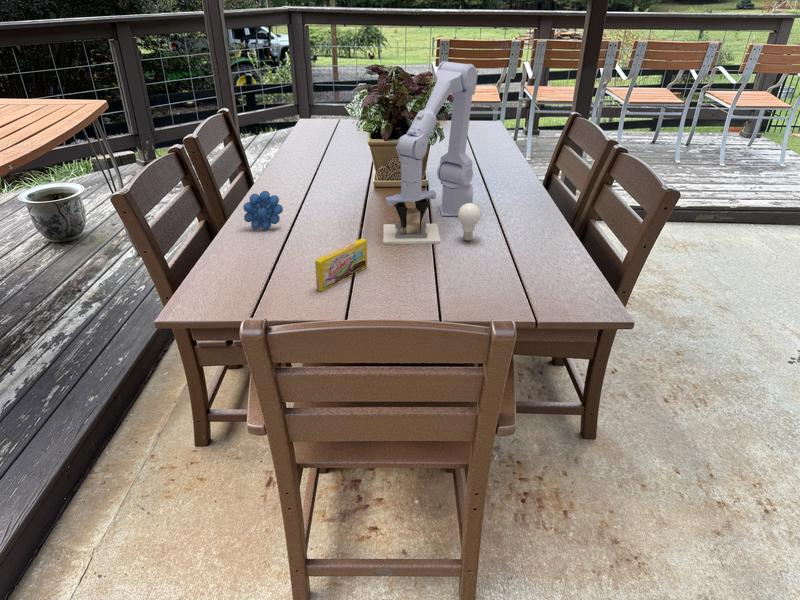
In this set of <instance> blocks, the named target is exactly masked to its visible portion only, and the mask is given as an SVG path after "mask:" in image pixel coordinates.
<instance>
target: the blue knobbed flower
mask: <svg viewBox="0 0 800 600" xmlns="http://www.w3.org/2000/svg"><path fill="white" fill-rule="evenodd" d="M279 202H280V197H279V196H278V195H277V194H273V195H270V192H269V191H268V190H262V191H261V192H260V193H259V194H258V193H253V194H251V195H250V196H249V201H247V202H245V203H243V211H244V212H245V214H244V216H243V217H244V218H243V219H244V221H245V222H246V223H250V224H251V225H250V227H251V228H252V229H254V230H258V229H259V228H261V229H263V230H264V231H266V230H269V229H270V228H271V227H272V225H276V224H278V223H279V222H280V220H281V219H280V218H281V217H280V214H282V213H283V211H284V207H283V206H282V204H279Z"/></svg>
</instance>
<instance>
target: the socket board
mask: <svg viewBox="0 0 800 600" xmlns="http://www.w3.org/2000/svg"><path fill="white" fill-rule="evenodd" d="M382 231H383V237H382V239H383V241H382V244H383V245H440V244H441V238H440V232H439V228H438V223H426V222H421V225H420V232H415V233H406V232H405V231H404V230H403V229H402V226H401V222H396V223H390V224H389V223H384V224H383V229H382Z"/></svg>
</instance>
